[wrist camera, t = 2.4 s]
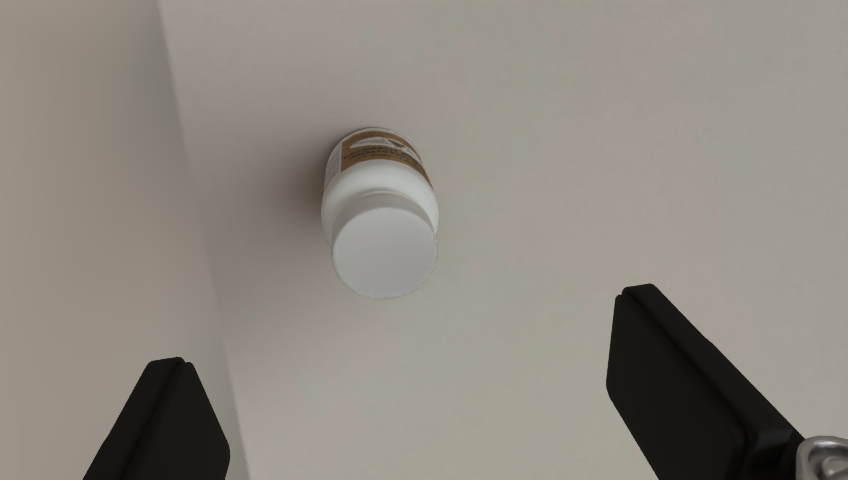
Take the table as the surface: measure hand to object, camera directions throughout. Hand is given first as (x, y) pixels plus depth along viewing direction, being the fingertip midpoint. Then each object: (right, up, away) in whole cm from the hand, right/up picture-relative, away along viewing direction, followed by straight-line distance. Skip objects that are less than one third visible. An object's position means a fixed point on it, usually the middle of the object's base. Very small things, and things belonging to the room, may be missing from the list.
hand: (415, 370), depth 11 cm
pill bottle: (-2, +6, +12) cm, 13 cm away
